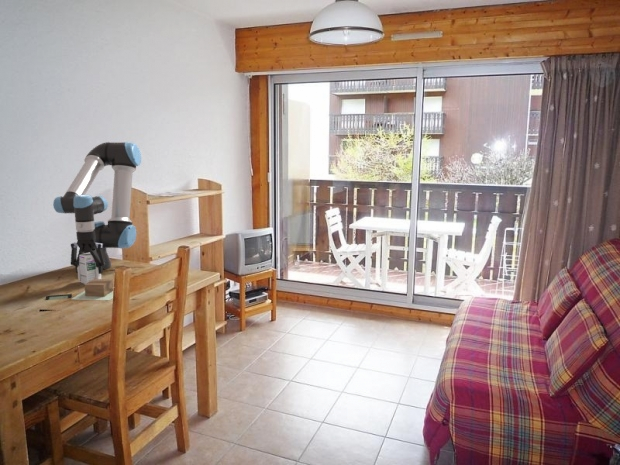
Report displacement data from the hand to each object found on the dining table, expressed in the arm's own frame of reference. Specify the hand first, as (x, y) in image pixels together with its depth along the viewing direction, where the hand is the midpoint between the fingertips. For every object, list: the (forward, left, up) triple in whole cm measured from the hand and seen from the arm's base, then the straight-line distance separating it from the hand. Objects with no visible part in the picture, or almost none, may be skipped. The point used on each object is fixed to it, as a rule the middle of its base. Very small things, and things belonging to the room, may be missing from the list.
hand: (90, 280), depth 215 cm
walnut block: (+15, +12, -1) cm, 19 cm away
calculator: (+27, 0, -3) cm, 27 cm away
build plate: (+15, +12, -2) cm, 20 cm away
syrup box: (0, 0, -2) cm, 2 cm away
